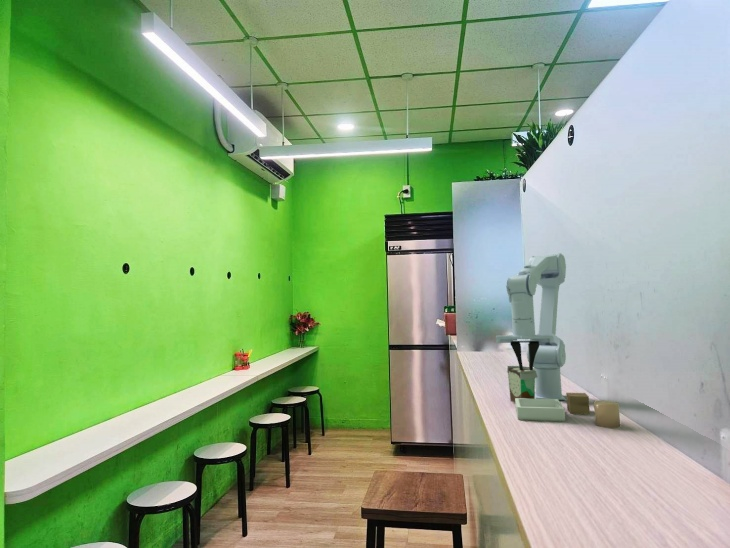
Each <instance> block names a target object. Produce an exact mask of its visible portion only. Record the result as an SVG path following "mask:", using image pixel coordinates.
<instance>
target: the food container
mask: <svg viewBox="0 0 730 548" xmlns="http://www.w3.org/2000/svg"><path fill="white" fill-rule="evenodd" d="M506 372H507V378H508V386H509V387H508V389H509V399H510V400H509V401H510V402H511V403H513V404H514V405H515V398H529V399H536V398H535V392H536V389H535V378H537V373H536V371H535V369H534V367H533V370H529V366H523V370H520V368H519V365H507V371H506Z"/></svg>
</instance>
